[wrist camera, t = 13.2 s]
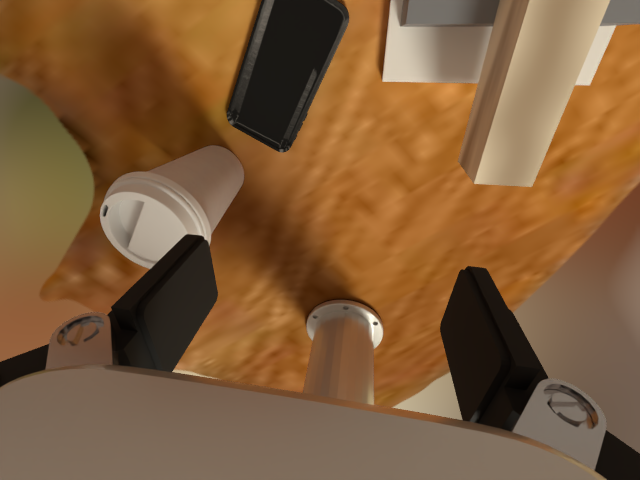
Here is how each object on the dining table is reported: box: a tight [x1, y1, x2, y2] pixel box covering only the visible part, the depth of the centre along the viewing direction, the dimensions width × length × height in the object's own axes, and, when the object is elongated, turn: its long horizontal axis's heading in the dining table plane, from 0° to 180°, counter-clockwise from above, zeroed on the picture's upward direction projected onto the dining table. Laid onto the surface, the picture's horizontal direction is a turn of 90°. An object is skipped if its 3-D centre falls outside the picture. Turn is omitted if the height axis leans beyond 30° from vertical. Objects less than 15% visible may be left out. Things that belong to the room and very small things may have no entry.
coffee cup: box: [100, 145, 244, 269], centre depth 32 cm, size 10×10×15 cm
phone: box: [227, 0, 349, 152], centre depth 31 cm, size 8×1×15 cm
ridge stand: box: [382, 0, 640, 85], centre depth 23 cm, size 11×18×7 cm, turn 90°
